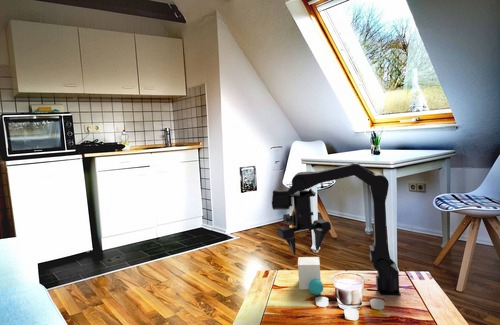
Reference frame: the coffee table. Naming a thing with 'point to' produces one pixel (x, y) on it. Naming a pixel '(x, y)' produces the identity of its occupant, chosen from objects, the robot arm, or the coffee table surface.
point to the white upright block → (308, 270)
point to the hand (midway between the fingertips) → (305, 252)
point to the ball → (315, 286)
